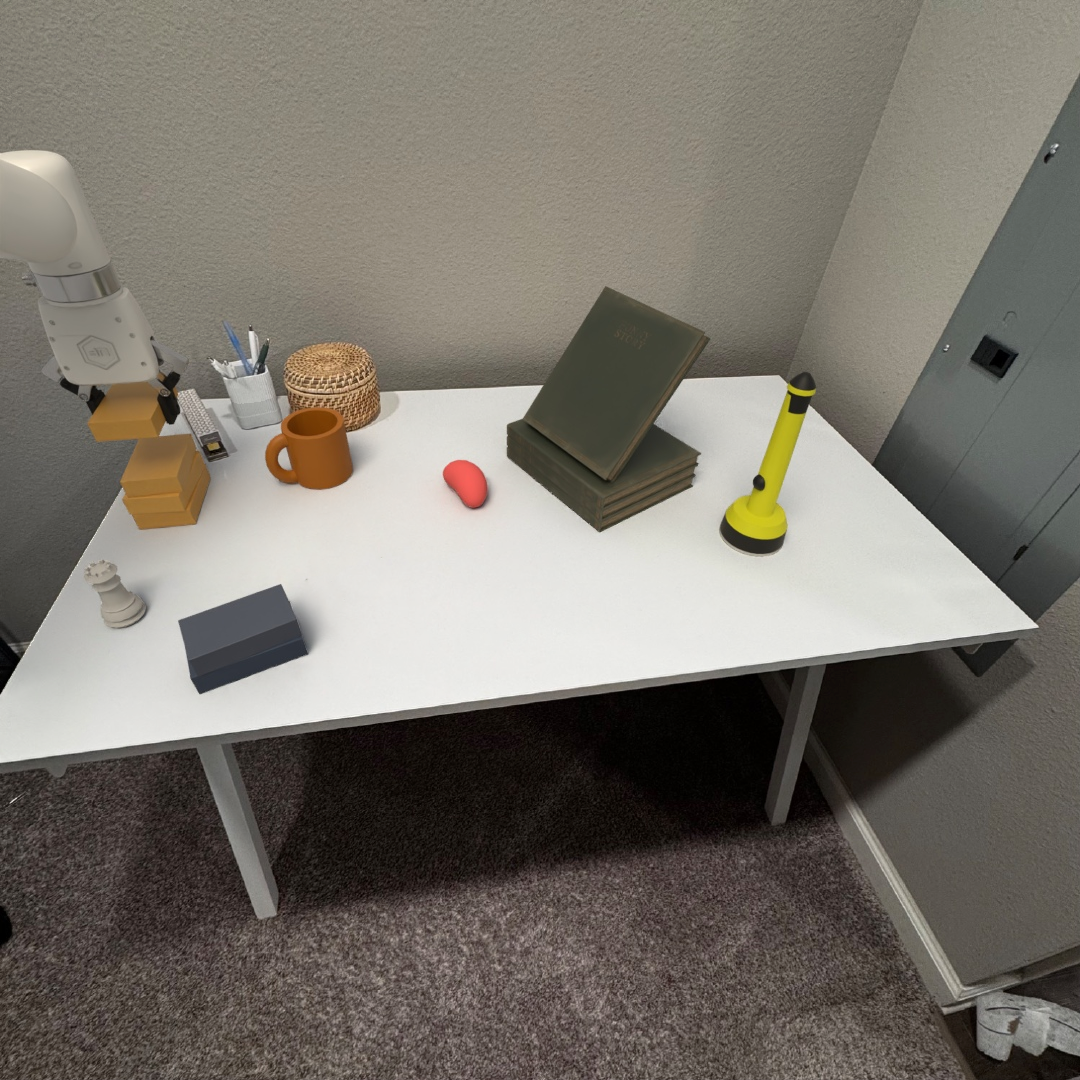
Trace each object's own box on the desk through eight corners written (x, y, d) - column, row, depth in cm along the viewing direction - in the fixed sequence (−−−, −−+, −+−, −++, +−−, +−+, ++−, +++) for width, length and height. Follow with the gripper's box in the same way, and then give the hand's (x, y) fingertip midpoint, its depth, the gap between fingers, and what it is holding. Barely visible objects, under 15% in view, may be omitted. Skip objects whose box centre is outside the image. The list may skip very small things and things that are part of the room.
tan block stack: (196, 525, 86) (176, 479, 81) (136, 531, 85) (112, 484, 80) (211, 477, 95) (194, 432, 90) (157, 481, 93) (137, 436, 88)
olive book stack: (506, 457, 101) (506, 303, 85) (597, 422, 111) (613, 278, 94) (598, 533, 88) (619, 368, 71) (693, 486, 97) (731, 331, 81)
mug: (269, 467, 97) (253, 416, 91) (347, 452, 101) (337, 402, 95) (276, 500, 91) (260, 448, 85) (359, 482, 95) (349, 431, 89)
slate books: (199, 695, 66) (181, 662, 62) (191, 650, 70) (173, 617, 66) (309, 655, 70) (298, 622, 67) (295, 615, 75) (284, 582, 71)
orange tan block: (158, 437, 77) (150, 419, 76) (96, 441, 76) (86, 423, 74) (178, 394, 85) (171, 377, 84) (122, 398, 84) (114, 380, 82)
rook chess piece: (135, 630, 72) (106, 582, 67) (97, 629, 72) (64, 580, 67) (154, 602, 75) (128, 554, 70) (117, 601, 75) (88, 552, 70)
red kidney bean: (483, 483, 98) (464, 448, 95) (500, 496, 90) (480, 460, 87) (455, 500, 97) (435, 466, 95) (470, 516, 90) (448, 479, 87)
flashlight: (815, 352, 77) (752, 360, 74) (864, 386, 70) (797, 395, 68) (760, 510, 93) (707, 521, 91) (796, 549, 87) (740, 561, 85)
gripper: (-25, 297, 65) (57, 442, 77) (155, 291, 68) (207, 431, 80) (6, 273, 71) (77, 411, 82) (171, 268, 74) (218, 402, 85)
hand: (141, 420), depth 81 cm, fingers closed on orange tan block, 7 cm apart
